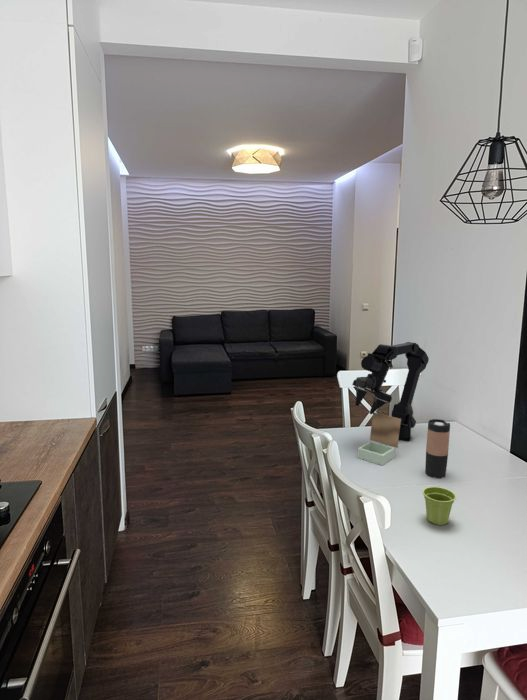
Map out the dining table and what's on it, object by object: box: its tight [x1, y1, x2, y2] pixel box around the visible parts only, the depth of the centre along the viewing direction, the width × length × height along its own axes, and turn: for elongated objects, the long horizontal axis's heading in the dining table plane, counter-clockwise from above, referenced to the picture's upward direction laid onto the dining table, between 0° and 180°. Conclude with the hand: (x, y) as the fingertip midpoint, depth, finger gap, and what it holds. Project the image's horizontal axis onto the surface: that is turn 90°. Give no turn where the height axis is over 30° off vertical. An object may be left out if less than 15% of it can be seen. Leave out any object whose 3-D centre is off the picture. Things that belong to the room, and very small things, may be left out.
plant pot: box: [422, 486, 457, 526], centre depth 143 cm, size 9×9×9 cm
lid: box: [369, 412, 401, 449], centre depth 191 cm, size 12×12×1 cm
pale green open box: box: [357, 440, 396, 466], centre depth 188 cm, size 10×11×4 cm
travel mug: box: [424, 418, 451, 479], centre depth 172 cm, size 8×8×20 cm
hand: (363, 409), depth 192 cm, fingers open, 9 cm apart
